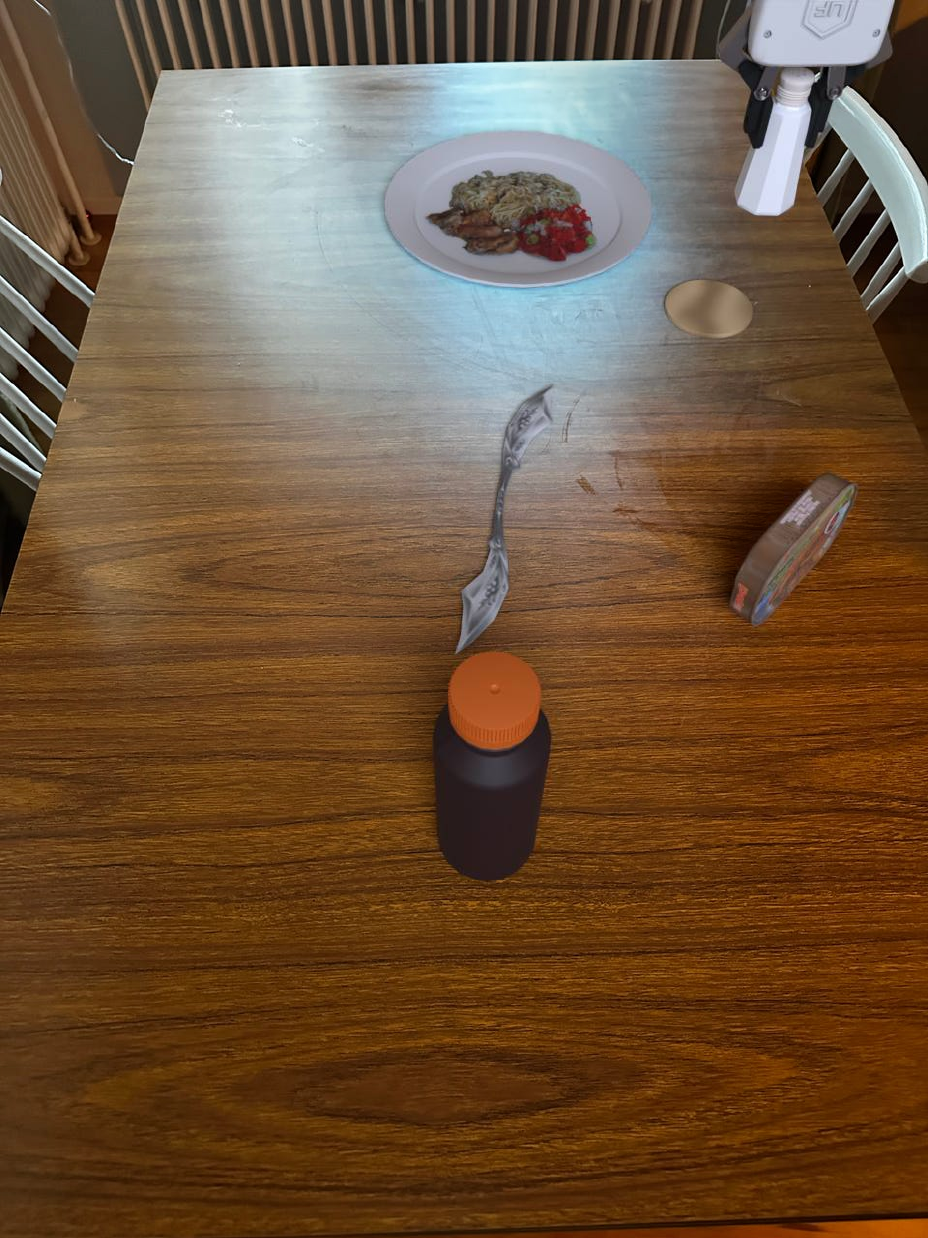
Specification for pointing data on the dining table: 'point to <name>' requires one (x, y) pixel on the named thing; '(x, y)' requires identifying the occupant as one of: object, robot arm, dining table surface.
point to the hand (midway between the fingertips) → (780, 137)
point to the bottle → (490, 765)
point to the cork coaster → (708, 309)
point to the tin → (791, 547)
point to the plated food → (518, 209)
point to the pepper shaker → (778, 149)
